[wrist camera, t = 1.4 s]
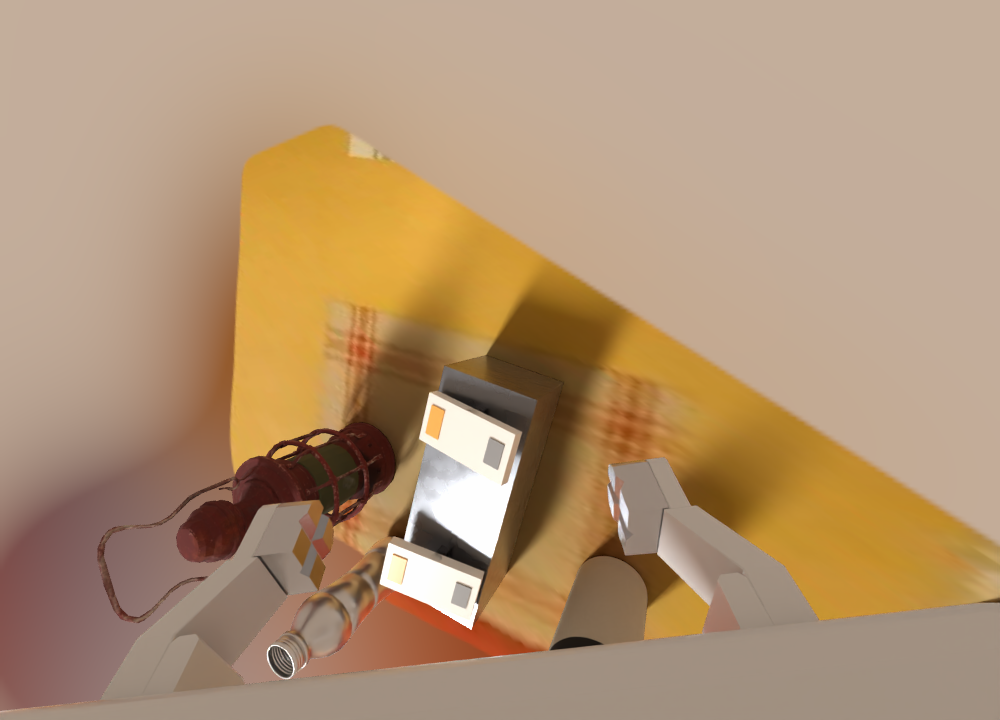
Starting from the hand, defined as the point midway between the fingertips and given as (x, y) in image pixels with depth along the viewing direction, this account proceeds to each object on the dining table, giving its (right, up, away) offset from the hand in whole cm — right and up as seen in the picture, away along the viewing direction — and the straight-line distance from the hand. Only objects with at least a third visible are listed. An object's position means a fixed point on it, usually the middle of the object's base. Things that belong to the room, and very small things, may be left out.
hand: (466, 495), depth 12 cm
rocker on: (-2, -3, +28) cm, 28 cm away
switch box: (0, -9, +40) cm, 42 cm away
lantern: (-18, -10, +48) cm, 53 cm away
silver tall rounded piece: (-13, -23, +48) cm, 55 cm away
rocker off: (-6, -18, +31) cm, 37 cm away
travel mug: (+14, -22, +37) cm, 45 cm away
